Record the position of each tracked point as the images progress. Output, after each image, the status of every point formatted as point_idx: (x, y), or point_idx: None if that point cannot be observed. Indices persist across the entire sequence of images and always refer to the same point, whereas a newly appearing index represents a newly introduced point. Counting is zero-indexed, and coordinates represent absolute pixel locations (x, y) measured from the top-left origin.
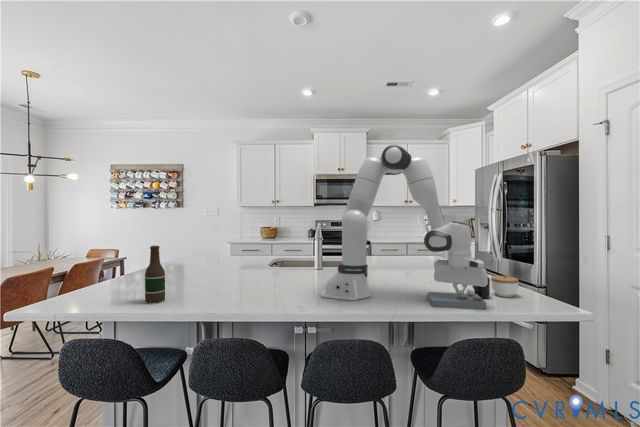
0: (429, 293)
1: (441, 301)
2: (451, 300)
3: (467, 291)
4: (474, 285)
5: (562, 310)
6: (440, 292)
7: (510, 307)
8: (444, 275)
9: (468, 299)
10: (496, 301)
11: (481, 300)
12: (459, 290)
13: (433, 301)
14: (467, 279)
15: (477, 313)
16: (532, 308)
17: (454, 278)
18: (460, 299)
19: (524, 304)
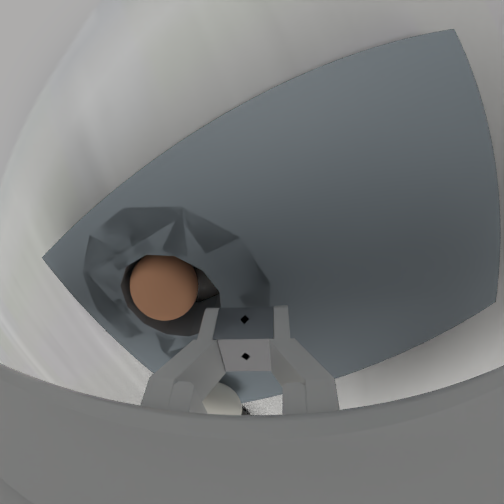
0: (493, 270)
1: (374, 49)
2: (286, 128)
3: (225, 399)
4: (39, 381)
5: (3, 353)
6: (422, 341)
7: (51, 330)
8: (492, 474)
9: (160, 276)
10: (133, 386)
11: (91, 302)
12: (249, 353)
13: (436, 32)
14: (73, 466)
15: (59, 99)
16: (27, 346)
17: (310, 498)
18: (218, 236)
19: (65, 378)
